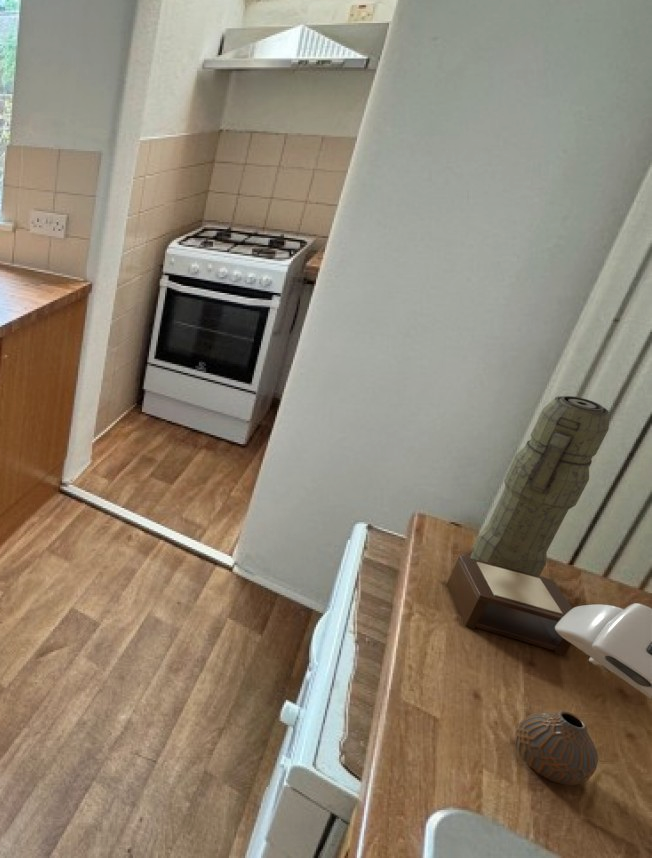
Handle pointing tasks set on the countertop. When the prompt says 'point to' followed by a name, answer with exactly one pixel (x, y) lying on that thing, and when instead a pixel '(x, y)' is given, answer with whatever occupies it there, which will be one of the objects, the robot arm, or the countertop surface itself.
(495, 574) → the brown wooden box
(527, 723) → the vase
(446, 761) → the countertop surface
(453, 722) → the countertop surface
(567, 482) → the carved stone statue
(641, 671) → the robot arm
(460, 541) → the countertop surface
